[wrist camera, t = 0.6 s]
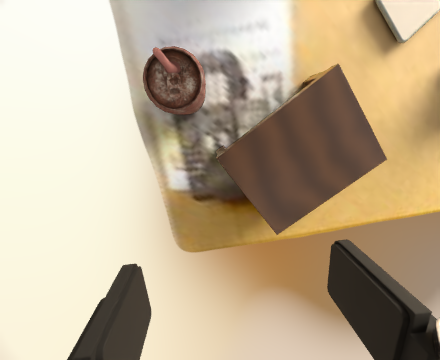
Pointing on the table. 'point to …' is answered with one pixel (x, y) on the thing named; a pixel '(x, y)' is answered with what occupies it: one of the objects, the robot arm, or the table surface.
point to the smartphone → (407, 15)
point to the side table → (304, 151)
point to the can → (174, 80)
